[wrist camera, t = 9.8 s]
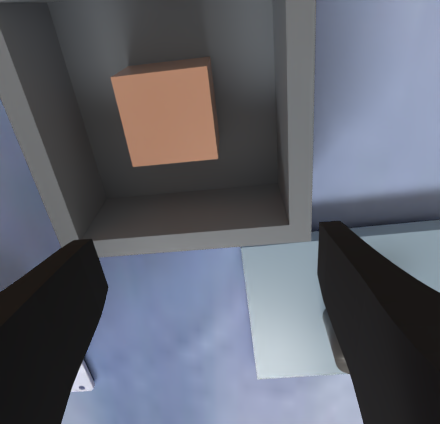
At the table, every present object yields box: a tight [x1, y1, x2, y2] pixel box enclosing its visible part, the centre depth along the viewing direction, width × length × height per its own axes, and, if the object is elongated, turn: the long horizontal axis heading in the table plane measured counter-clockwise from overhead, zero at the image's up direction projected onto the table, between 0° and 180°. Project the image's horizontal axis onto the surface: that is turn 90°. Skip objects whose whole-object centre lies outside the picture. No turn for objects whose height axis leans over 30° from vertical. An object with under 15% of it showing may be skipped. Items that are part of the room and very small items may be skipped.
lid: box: [241, 220, 440, 379], centre depth 23 cm, size 13×13×5 cm
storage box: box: [0, 0, 316, 258], centre depth 17 cm, size 12×12×5 cm
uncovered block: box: [111, 57, 220, 167], centre depth 17 cm, size 4×4×3 cm
